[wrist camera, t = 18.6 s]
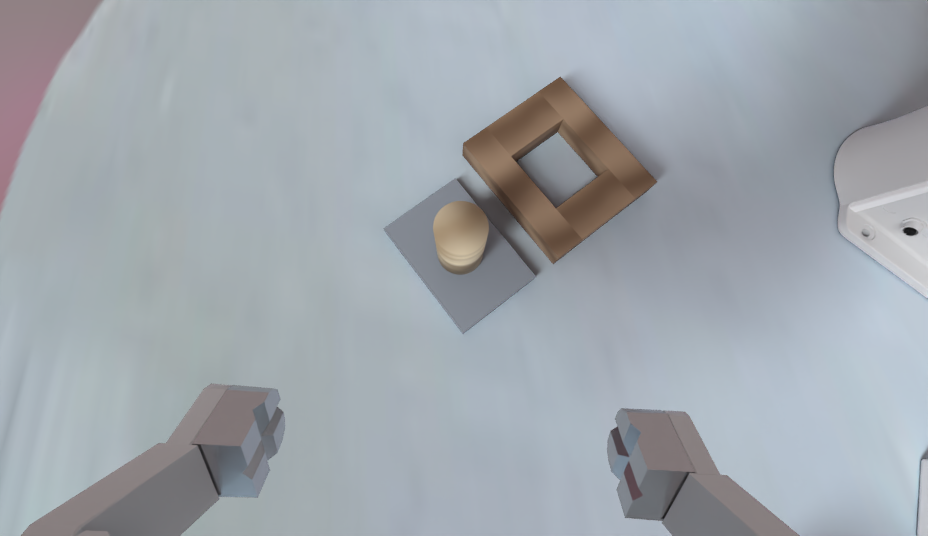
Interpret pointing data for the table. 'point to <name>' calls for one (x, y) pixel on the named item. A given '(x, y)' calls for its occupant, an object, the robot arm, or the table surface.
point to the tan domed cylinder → (460, 236)
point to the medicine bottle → (923, 500)
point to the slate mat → (456, 293)
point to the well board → (587, 137)
